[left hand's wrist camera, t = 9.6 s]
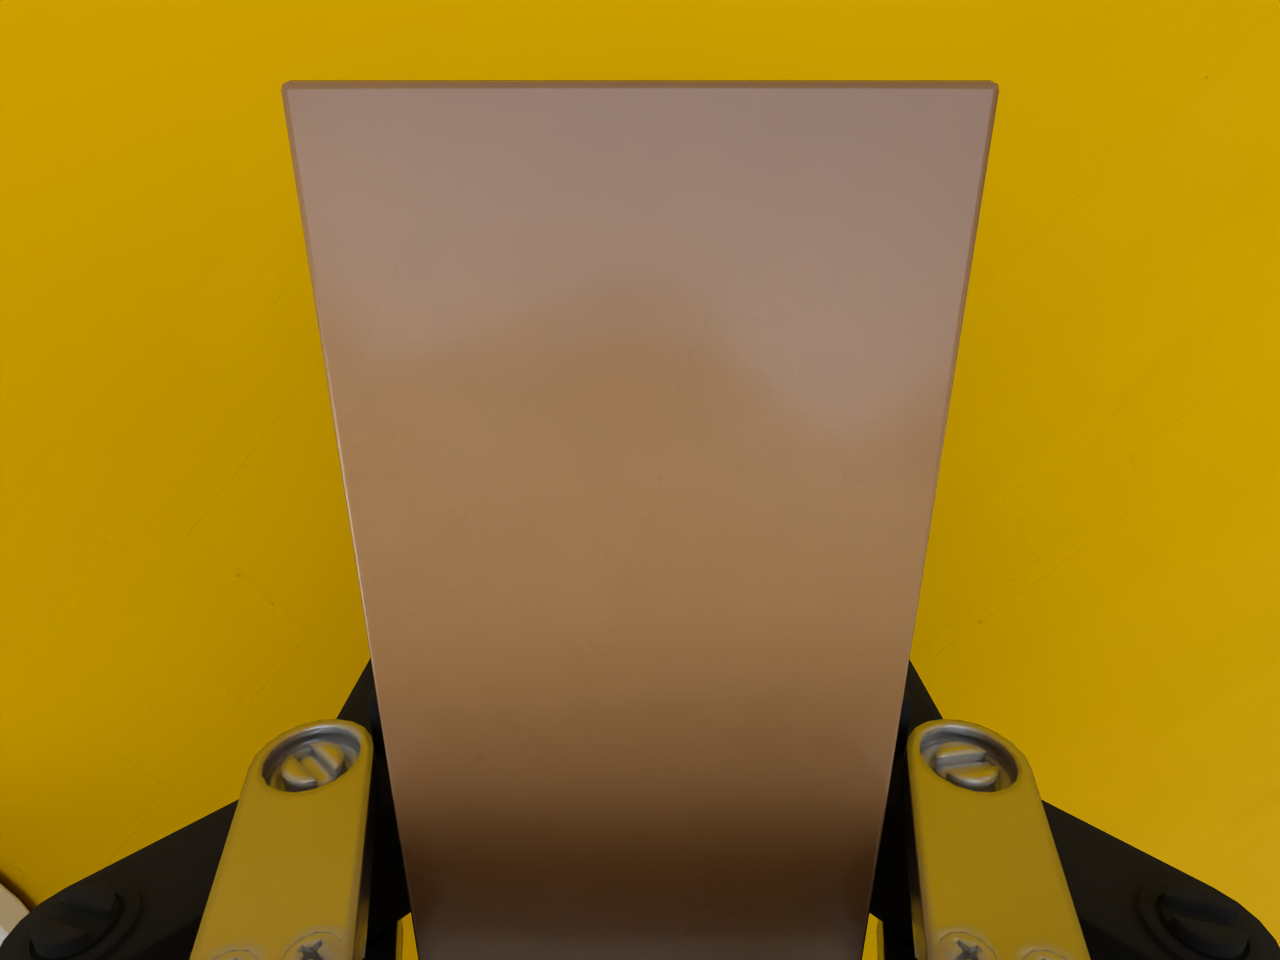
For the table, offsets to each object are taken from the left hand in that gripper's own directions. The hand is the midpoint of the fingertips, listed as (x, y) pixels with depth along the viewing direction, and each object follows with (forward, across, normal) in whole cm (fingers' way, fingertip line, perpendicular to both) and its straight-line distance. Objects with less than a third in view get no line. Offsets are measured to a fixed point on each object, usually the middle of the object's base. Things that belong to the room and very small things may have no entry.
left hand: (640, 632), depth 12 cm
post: (+2, 0, -20) cm, 21 cm away
